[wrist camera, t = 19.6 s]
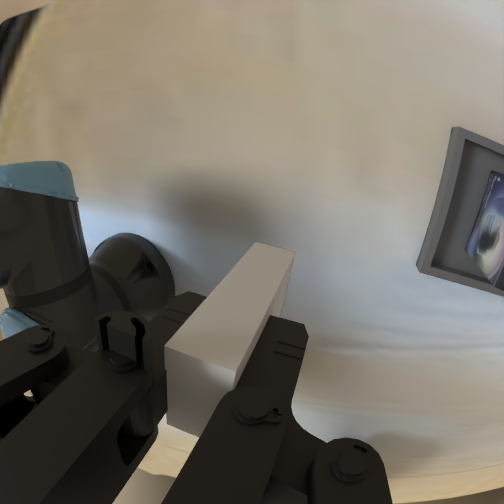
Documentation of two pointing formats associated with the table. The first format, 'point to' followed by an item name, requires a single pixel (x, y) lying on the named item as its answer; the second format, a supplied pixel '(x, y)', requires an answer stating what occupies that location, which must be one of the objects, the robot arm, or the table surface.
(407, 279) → the table surface
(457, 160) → the holder tray
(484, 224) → the small box
